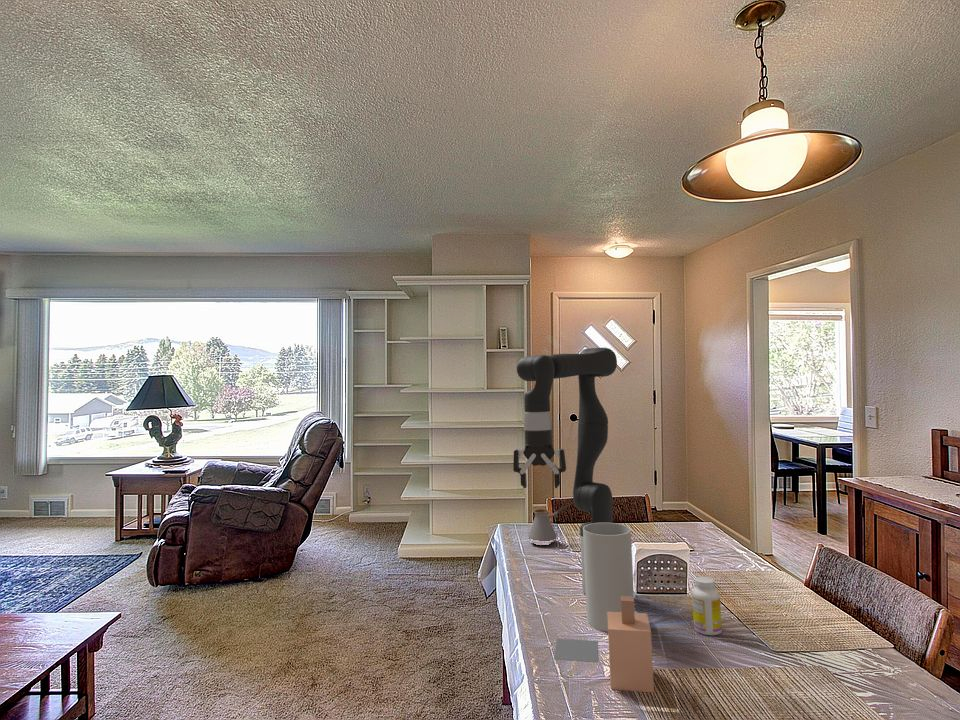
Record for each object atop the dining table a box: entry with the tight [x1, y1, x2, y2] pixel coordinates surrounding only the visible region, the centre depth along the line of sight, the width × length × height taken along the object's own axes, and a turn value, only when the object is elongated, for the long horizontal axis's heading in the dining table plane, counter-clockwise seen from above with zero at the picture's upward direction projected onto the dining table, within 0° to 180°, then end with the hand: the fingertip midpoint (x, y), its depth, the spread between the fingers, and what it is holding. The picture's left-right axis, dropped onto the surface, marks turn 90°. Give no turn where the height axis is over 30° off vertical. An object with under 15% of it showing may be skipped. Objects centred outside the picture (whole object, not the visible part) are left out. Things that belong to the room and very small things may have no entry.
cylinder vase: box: [583, 522, 636, 633], centre depth 142 cm, size 12×12×25 cm
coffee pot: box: [527, 501, 575, 541], centre depth 215 cm, size 21×12×15 cm, turn 108°
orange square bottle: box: [607, 596, 655, 693], centre depth 114 cm, size 9×9×18 cm
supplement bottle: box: [691, 575, 723, 636], centre depth 136 cm, size 7×7×13 cm
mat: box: [553, 638, 599, 663], centre depth 127 cm, size 10×10×1 cm
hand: (540, 487), depth 145 cm, fingers open, 8 cm apart
